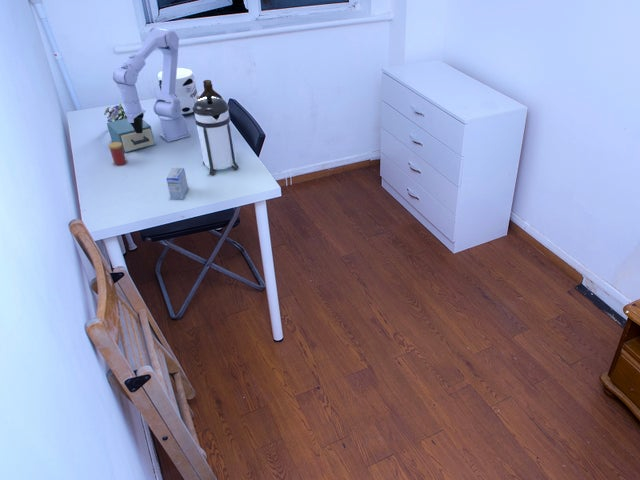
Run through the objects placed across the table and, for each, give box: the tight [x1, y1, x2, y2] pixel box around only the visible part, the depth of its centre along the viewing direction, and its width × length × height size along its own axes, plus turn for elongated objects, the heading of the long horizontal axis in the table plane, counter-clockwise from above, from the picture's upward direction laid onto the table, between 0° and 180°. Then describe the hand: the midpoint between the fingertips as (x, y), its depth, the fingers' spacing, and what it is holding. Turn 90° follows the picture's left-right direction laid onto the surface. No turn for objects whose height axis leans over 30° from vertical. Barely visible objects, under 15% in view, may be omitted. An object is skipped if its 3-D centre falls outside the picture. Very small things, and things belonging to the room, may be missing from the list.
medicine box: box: [166, 167, 189, 200], centre depth 197 cm, size 8×4×9 cm, turn 5°
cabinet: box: [106, 118, 156, 154], centre depth 229 cm, size 13×13×8 cm
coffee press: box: [193, 93, 240, 176], centre depth 209 cm, size 17×16×30 cm
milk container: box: [157, 67, 200, 116], centre depth 255 cm, size 17×17×18 cm
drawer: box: [121, 128, 155, 153], centre depth 226 cm, size 16×12×7 cm
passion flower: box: [103, 103, 127, 123], centre depth 242 cm, size 11×11×12 cm
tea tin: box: [108, 142, 127, 167], centre depth 214 cm, size 5×5×8 cm
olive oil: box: [198, 79, 224, 100], centre depth 231 cm, size 11×11×25 cm
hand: (139, 132), depth 219 cm, fingers closed
